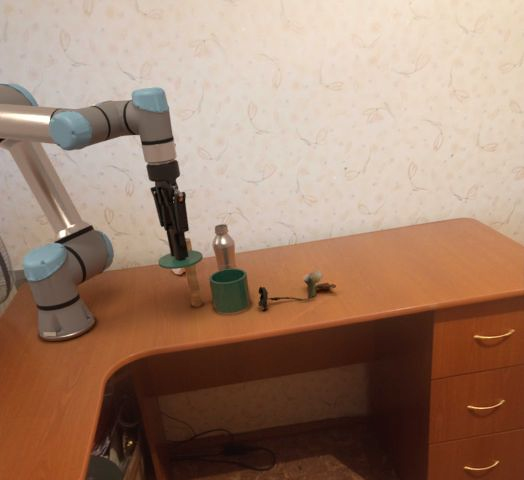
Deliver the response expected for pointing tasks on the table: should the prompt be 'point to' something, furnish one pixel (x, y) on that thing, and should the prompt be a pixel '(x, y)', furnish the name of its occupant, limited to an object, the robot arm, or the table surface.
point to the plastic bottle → (224, 248)
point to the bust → (178, 271)
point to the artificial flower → (308, 279)
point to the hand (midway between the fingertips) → (179, 256)
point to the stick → (193, 280)
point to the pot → (230, 290)
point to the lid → (173, 261)
